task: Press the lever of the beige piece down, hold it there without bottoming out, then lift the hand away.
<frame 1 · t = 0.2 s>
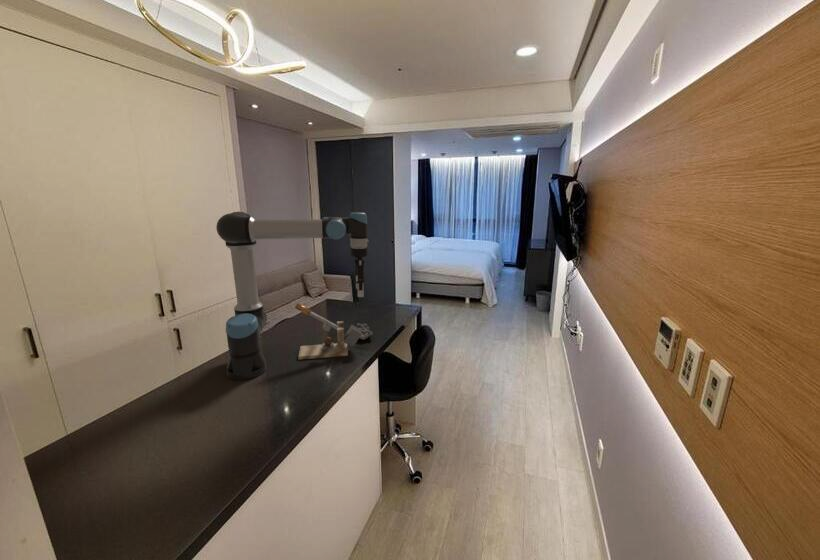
hand: (359, 292, 159), 28 cm above the counter, fingers open, 13 cm apart
lever: (327, 322, 158), point 15 cm above the counter, hinge at 34.0°
beige piece: (324, 352, 161), on the counter
rock: (362, 337, 179), on the counter
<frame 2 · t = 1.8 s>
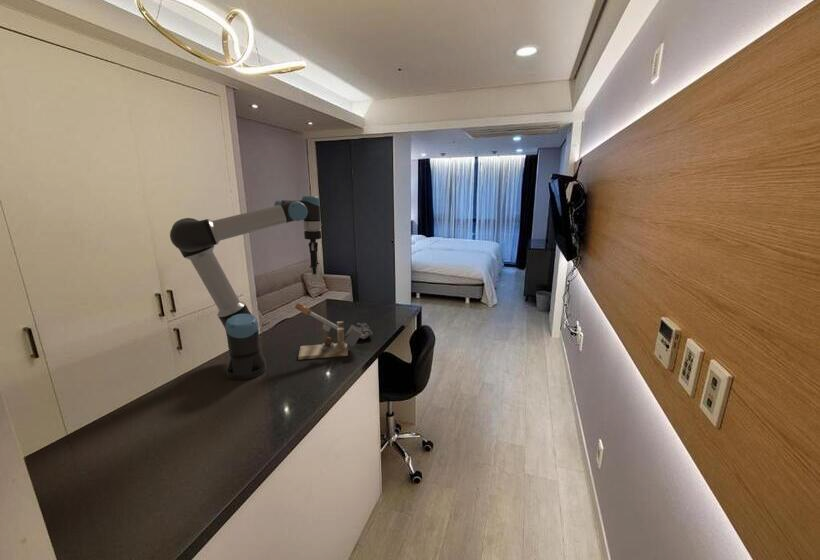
hand: (315, 279, 164), 33 cm above the counter, fingers open, 4 cm apart
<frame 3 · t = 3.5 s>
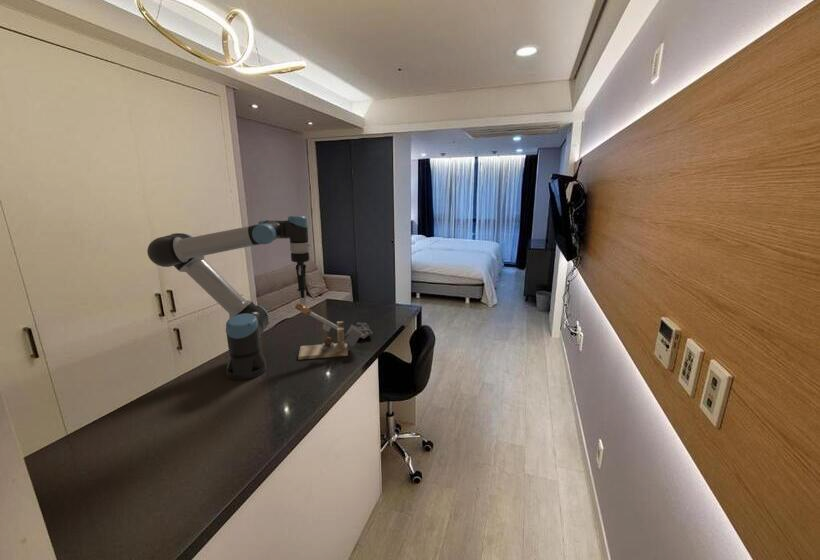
hand: (303, 303, 154), 24 cm above the counter, fingers closed
lever: (327, 322, 158), point 15 cm above the counter, hinge at 33.8°, touching gripper
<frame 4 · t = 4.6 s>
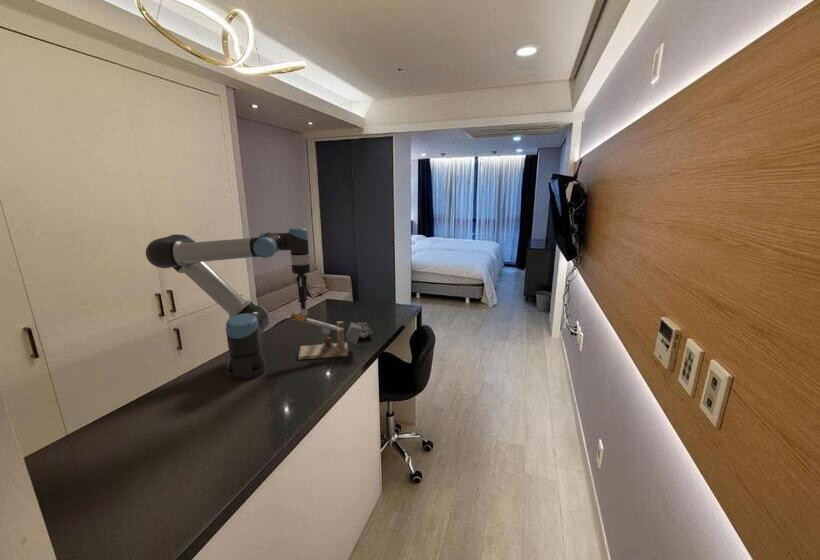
hand: (304, 314, 155), 19 cm above the counter, fingers closed
lever: (325, 325, 158), point 13 cm above the counter, hinge at 20.8°, touching gripper
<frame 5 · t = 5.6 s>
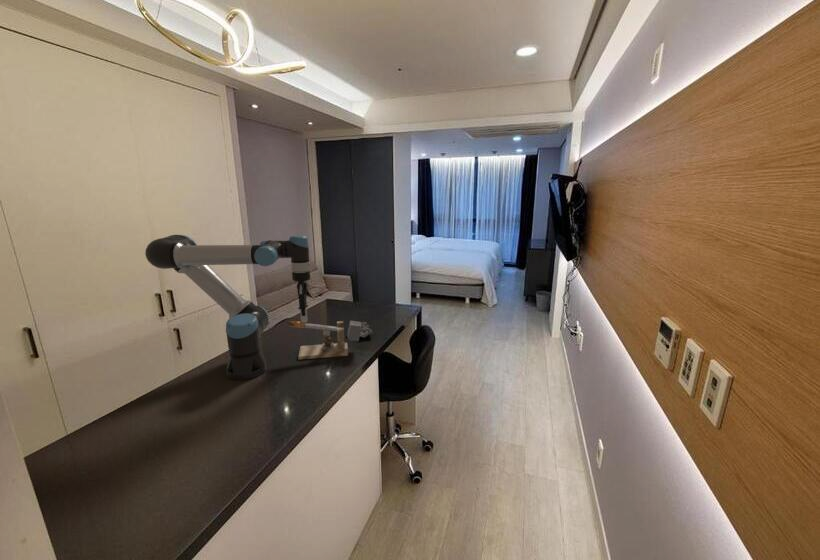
hand: (304, 321, 156), 16 cm above the counter, fingers closed
lever: (325, 327, 158), point 12 cm above the counter, hinge at 11.2°, touching gripper
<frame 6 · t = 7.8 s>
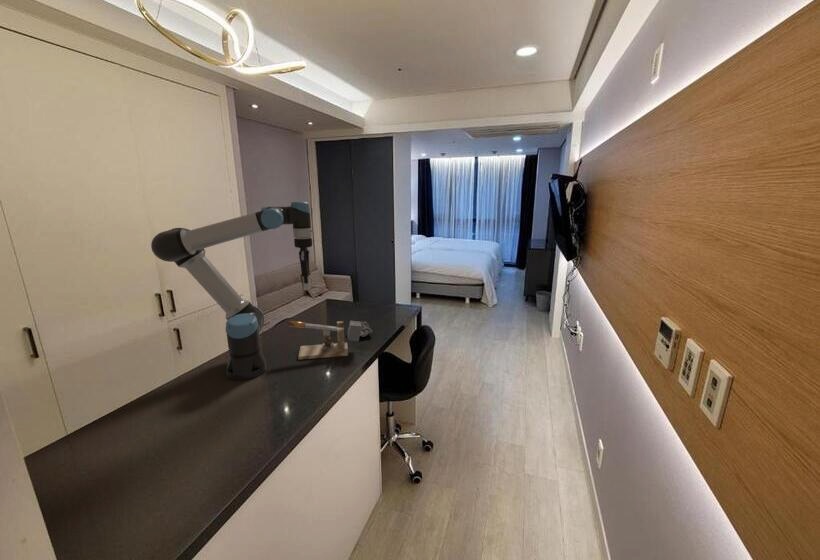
hand: (307, 289, 155), 30 cm above the counter, fingers closed
lever: (325, 327, 158), point 12 cm above the counter, hinge at 11.1°
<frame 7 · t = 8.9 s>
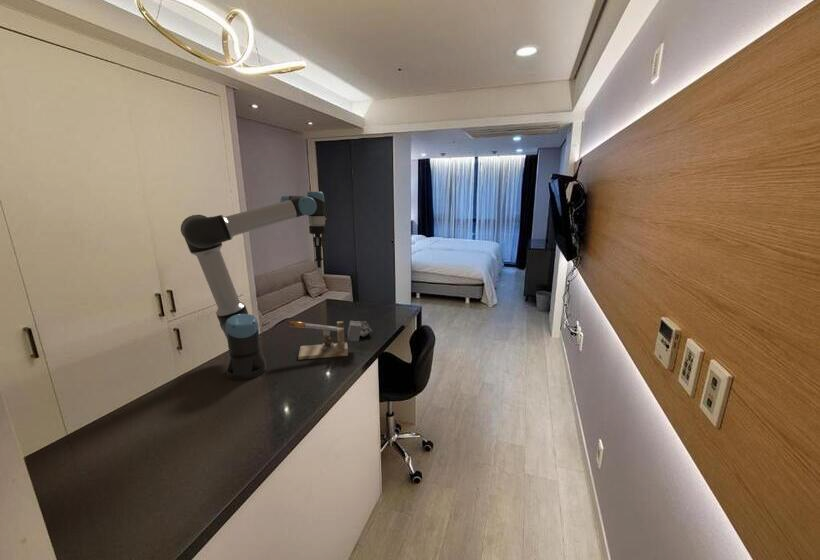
hand: (319, 273, 168), 34 cm above the counter, fingers closed
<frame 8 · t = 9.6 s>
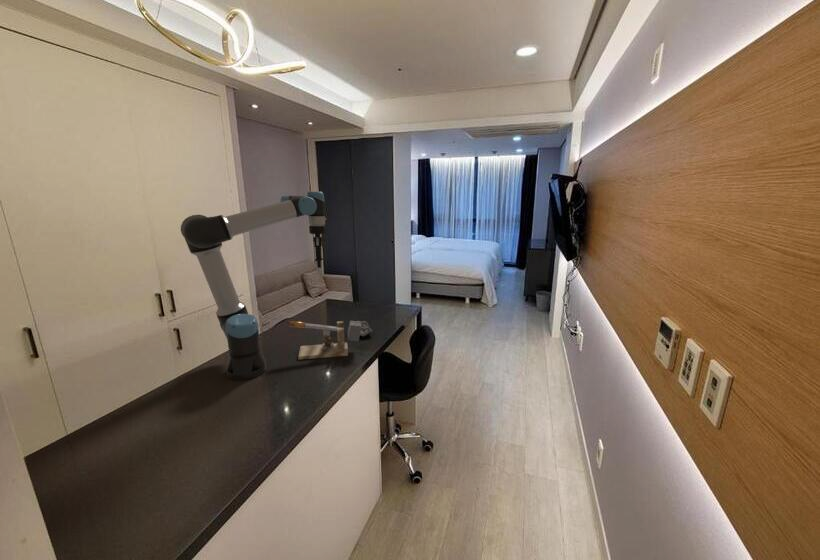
hand: (319, 273, 168), 34 cm above the counter, fingers closed
at the end: lever at +11° (first picture: +34°); the gripper is holding nothing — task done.
